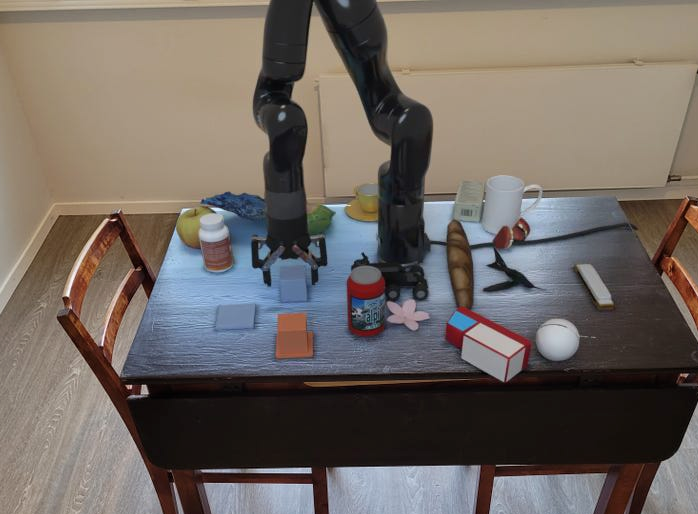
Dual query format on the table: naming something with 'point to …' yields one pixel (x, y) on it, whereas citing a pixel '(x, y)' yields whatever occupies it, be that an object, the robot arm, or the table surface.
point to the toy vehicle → (398, 278)
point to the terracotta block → (292, 332)
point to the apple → (191, 225)
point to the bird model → (511, 273)
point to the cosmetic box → (469, 200)
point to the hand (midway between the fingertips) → (291, 283)
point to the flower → (406, 314)
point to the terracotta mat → (298, 354)
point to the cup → (364, 203)
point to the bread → (460, 264)
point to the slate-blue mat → (236, 317)
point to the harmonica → (594, 286)
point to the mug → (505, 202)
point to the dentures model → (511, 234)
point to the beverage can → (366, 301)
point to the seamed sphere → (557, 339)
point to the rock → (239, 204)
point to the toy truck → (488, 344)
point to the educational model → (318, 218)
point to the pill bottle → (215, 243)
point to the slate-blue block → (293, 283)
